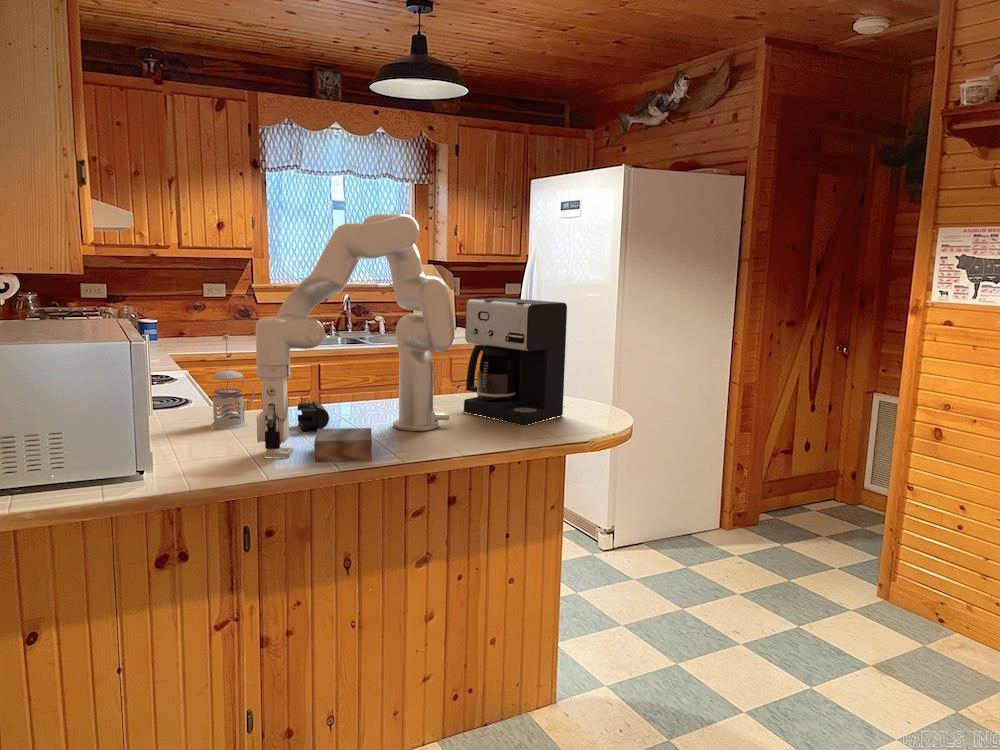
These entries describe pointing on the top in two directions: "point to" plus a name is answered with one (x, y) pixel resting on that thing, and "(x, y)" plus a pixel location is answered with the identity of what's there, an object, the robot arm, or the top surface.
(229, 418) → the french press
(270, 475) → the top surface
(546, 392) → the coffee maker
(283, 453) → the security camera
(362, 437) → the walnut stand
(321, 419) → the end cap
